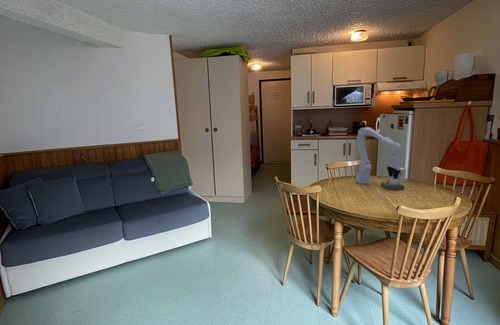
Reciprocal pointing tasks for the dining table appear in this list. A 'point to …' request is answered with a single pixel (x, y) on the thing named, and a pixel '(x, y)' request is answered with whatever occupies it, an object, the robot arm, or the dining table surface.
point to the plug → (392, 181)
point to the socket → (392, 186)
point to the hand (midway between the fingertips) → (392, 177)
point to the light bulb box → (401, 175)
